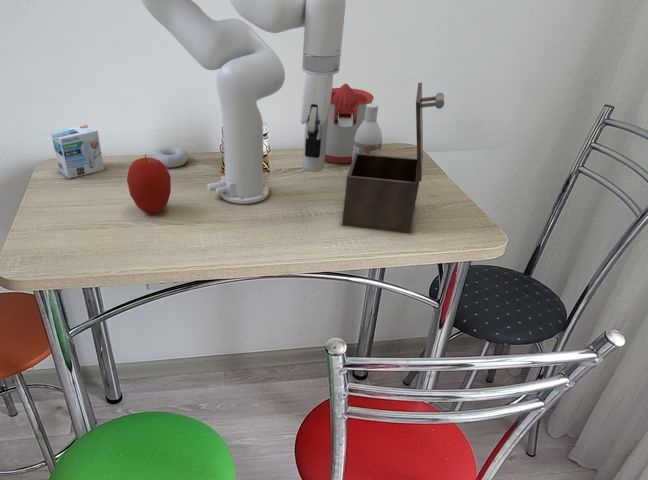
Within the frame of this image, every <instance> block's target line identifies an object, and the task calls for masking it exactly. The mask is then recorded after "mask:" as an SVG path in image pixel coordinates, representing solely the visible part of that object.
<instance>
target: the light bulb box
mask: <svg viewBox="0 0 648 480" xmlns="http://www.w3.org/2000/svg"><path fill="white" fill-rule="evenodd" d="M50 134H51V139H52V143H53V149H54V152H55V157H56V160H57V165H58V171H59V172H60V173H61V174H63V175H64V176H65V177H66V178H67V179H70V180H71V179H75V178H78V177H82V176H85V175H89V174H93V173H97V172H102V171H104V170H105V166H104V161H103V160H104V159H103V154H102V148H101V144H100V138H99V131H98V129H95V128H94V127H92V126H91V125H88V124H83V125H77V126H73V127H67V128H64V129H60V130H55V131H51V132H50Z"/></svg>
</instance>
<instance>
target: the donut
mask: <svg viewBox="0 0 648 480" xmlns="http://www.w3.org/2000/svg"><path fill="white" fill-rule="evenodd" d="M152 158H154V159H157V160H159V161H160V162H162V163H163V164H164V165H165V166H166V168H169V169H171V168H178V167H181V166H183V165H185V164H186V163H187V162H188V161H189V153H188V151H187V150H186V149H185V148H183V147H180V146H174V145H168V146H162V147H160V148H157V149H156V150H155V151H154V152H153V154H152Z"/></svg>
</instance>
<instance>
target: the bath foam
mask: <svg viewBox="0 0 648 480" xmlns="http://www.w3.org/2000/svg"><path fill="white" fill-rule="evenodd" d="M378 112H379V105H378V104H377V103H373V102H372V103H371V104H367V105H366V111H365V120H364V121H363V123H362V124H361V125H360V126H359V128H358V130H357V132H356V134H355V139H354V147H353V157H354V154H355V153H360V154H371V155H381V151H382V143H383V134H382V130H381V126H380V124H379V122H378V121H377V118H378ZM353 157H352V160H353Z"/></svg>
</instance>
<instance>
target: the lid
mask: <svg viewBox="0 0 648 480" xmlns="http://www.w3.org/2000/svg"><path fill="white" fill-rule="evenodd" d="M416 89H417V91H416V99H415V122H416V123H415V124H416V125H415V126H416V159H417V178H418V182H419V183H420V182H421V183H422V179H423V178H422V177H423V167H424V166H423V164H424V162H423V161H424V128H423V127H424V125H423V124H424V123H423V122H424V121H423V108H431V107H435V108H436V109H443V108H444V107H445V95H444V93H443V92H438V93H436V94H435V96H426V97H423V82H418V83H417V88H416Z"/></svg>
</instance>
